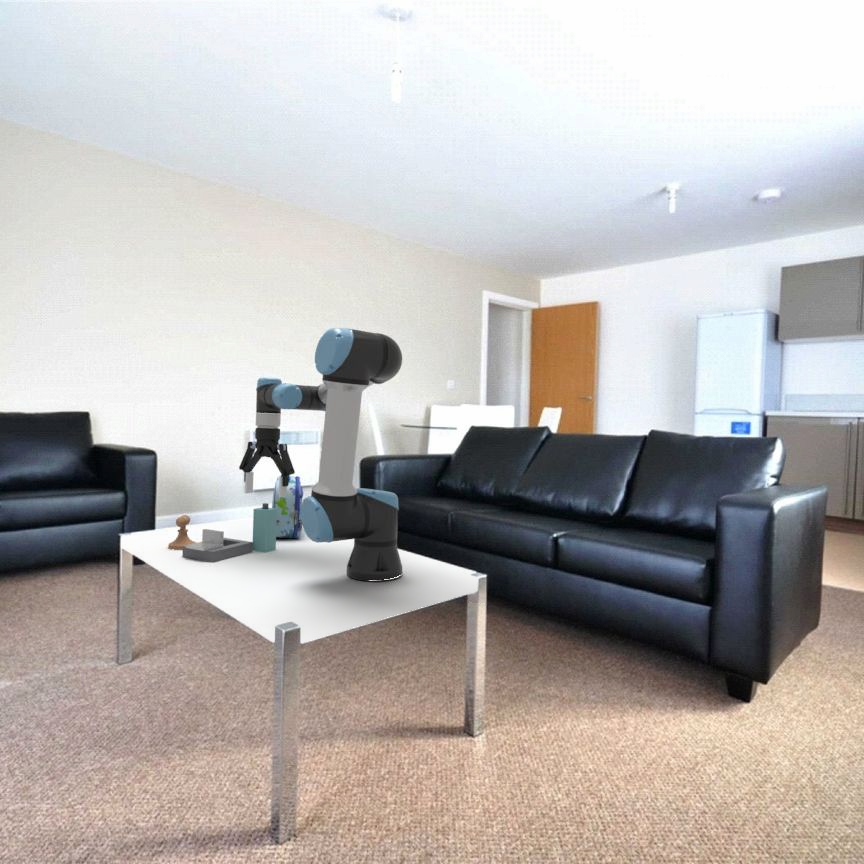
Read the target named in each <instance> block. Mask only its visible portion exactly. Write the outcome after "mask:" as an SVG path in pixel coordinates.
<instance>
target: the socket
mask: <svg viewBox="0 0 864 864" xmlns="http://www.w3.org/2000/svg"><path fill="white" fill-rule="evenodd" d="M250 553H254V552H253V541H248V540H241V539H234V538H230V537H229V538H228V537H224V538H223V547H219V548H215V549H211V550H206V551H201V550H195V549H190V548H186V546H183V550H182V556H181V557H183V558H188V559H193V560H199V561H205V562H208V563H215V562H219V561H220V562H221V561H223V560H227V559H231V558H235V557H238V556H242V555H247V554H250Z"/></svg>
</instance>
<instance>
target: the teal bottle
mask: <svg viewBox="0 0 864 864" xmlns="http://www.w3.org/2000/svg"><path fill="white" fill-rule="evenodd" d="M252 516H253V517H252V518H253V521H252V542H253V551H255V552H259V553H267V552H268V553H269V552H272V551H276V548H277V547H276V546H277V537H276V524H277V509H276V508H272V507H269V503H267V502H266V503H262V507H258V508H253V515H252Z"/></svg>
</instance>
